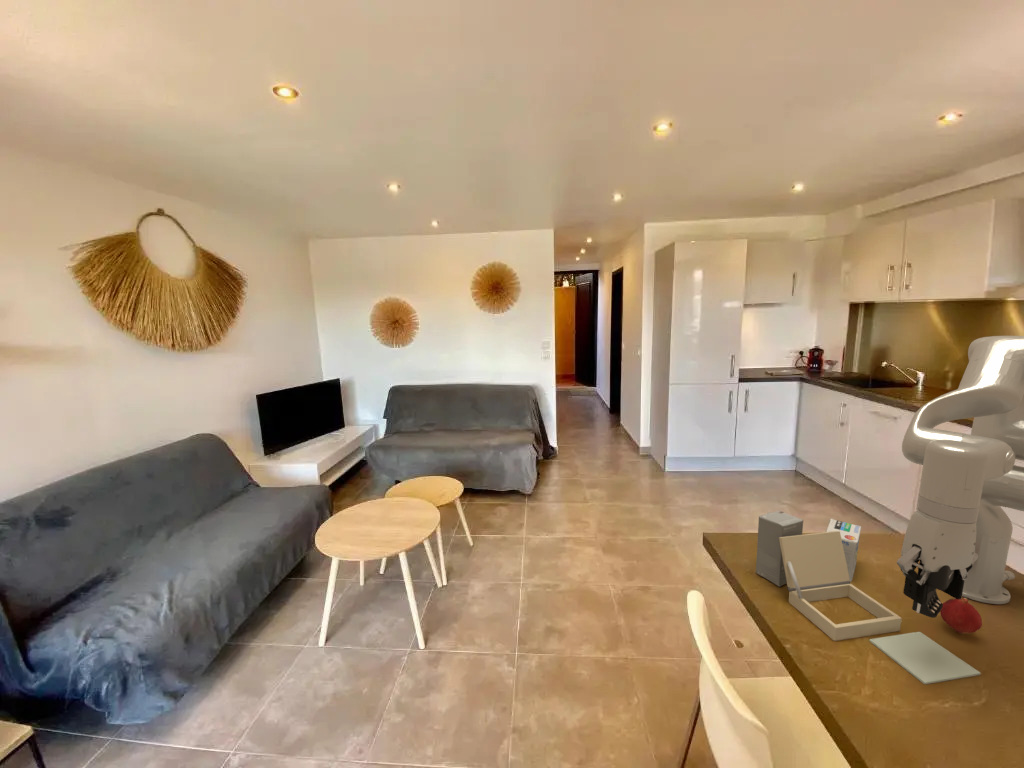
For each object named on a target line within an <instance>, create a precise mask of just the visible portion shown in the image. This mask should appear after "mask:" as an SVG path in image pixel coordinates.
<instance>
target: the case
mask: <svg viewBox="0 0 1024 768" xmlns="http://www.w3.org/2000/svg"><path fill="white" fill-rule="evenodd" d="M779 541H780V547H781V552H782V558H783V563H784V569H785V574H786V580H787V583H786V585H787V590H788V591H789V595H788V603H789V604H791V605H792V606H793V607H794V608H795V609H796V610H798V611H799V613H801V614H802V615H803V616H804V617H806V618H807V619H808V620H809V621H811V623H813V624H814V625H815V626H816V627H817V628H819V629H820V630H821V631H822V632H823V633H825V634H826V635H827V636H828V637H829V638H830V639H831V640H832V641H834V642H835V641H842V640H849V639H856V638H861V637H862V638H863V637H868V636H875V635H881V634H888V633H895V632H901V626H902V625H901V624H902V619H903V618H902V617H901V616H899V615H898V614H896V613H895V612H894V611H892V610H891V609H889V608H888V607H886V606H885V605H883V604H882V603H880V602H879V601H877V600H876V599H874V598H873V597H872V596H870V595H868V594H867V593H865V592H863V590H861V589H859V588H858V587H856V586H855V585H853V584H852V583H851V581H850V578H849V574H848V569H847V564H846V559H845V554H844V549H843V544H842V539H841V535H840V531H832V532H826V531H824V532H823V531H822V532H815V533H805V534H802V535H795V536H786V537H779ZM839 598H840V599H841V598H849V599H851V600H852V601H853V602H855V603H856V604H857V605H859V607H860V606H861V607H862V608H863V609H865V611H867V612H869V613H870V614H872V615H873V616H874V617H875V618H871V619H864V620H857V621H851V622H842V623H838V624H837V623H834V622H833V621H832V620H831V619H830V618H828V617H827V616H826V615H824V614H823V613H822V612H821V611H819V609H817V608H816V607H815V606H814V605H812V604H811V602H819V601H824V600H831V599H833V600H834V599H839Z"/></svg>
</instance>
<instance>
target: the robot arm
mask: <svg viewBox="0 0 1024 768" xmlns="http://www.w3.org/2000/svg"><path fill="white" fill-rule="evenodd" d="M967 356H968V357H967V358H968V364H967V366H966V368H965V370H964V373H963V375H962V378H961V380H960V382H959V385H958V388H957V389H954V390H951V391H948V392H947V393H944V394H941V395H939V396H937V397H935V398H933V399H932V400H930V401H928V402H927V403H924V404H923V405H922V406H921V407H920V408H919V409H918V410H916V412H915V413H914V414H913V416H912V418H911V421H910V423H909V425H908V427H907V429H906V431H905V433H904V436H903V439H902V442H901V452H902V454H903V456H904V458H905V459H907V460H908V461H909V462H911V463H914V464H916V465H920V466H922V471H921V477H920V482H919V483H920V484H919V490H918V496H917V502H916V509H915V511H913V513H912V514H911V516H910V519H909V521H908V524H907V527H906V530H905V533H904V538H903V542H902V547H901V551H900V552H901V553H900V557H899V558H898V559H897V560H896V564H897V565H898V567H899V569H900V571H901V572H902V573H903V576H904V577H905V579H904V584H903V585H904V586H903V591H902V593H903V595H904V596H906V597H907V598H909V599H911V600H912V601H913V600H914V601H916V602H917V603H919V604H924V603H925V598H926V592H927V586H928V585H926V584H924V583H925V582H926V580H927V578H928V577H929V575H930V574H931V572H938V571H939V569H940V568H941V567H943V566H945V565H948V566H949V567H950V569H951V570H954V577H953V580H952V582H950V584H949V586H948V587H947V589H945V590H944V591H942V592H944V593H945V594H947V595H948V596H950V597H952V598H953V599H961V598H967V599H969V600H973V601H976V602H980V603H984V604H991V605H1004V604H1008V603H1009V602H1010V601H1011V593H1010V592H1009V590H1008V589H1007V588H1005V587H1004V586H1003V582H1005V581H1009V580H1014V579H1015V578H1016V575H1015V573H1013V571H1010V570H1006V564H1007V559H1008V556H1009V555H1008V554H1009V549H1010V544H1011V539H1012V534H1013V524H1012V520H1011V519H1010V518H1009V516H1008V514H1007V513H1006V512H1005V511H1004V509H1003V508H1008V509H1012V510H1016V511H1020V512H1024V466H1021V465H1016V464H1015V462H1016V460H1018V461H1024V335H992V336H983V337H979V338H976V339H974V340H973V341H972V342H971V343H970V345H969V347H968V349H967ZM971 418H973V421H972V427H971V429H970V430H971V431H970V434H969V433H963V432H958V431H957V432H956V431H951V430H947V429H939V428H935V427H937V426H939V425H941V424H944V423H948V422H952V421H956V420H964V419H971ZM1002 507H1003V508H1002ZM920 560H921V561H922V564H924V566H922V565H920V564H919V562H920ZM917 568H920V569H922V572H921V574H920V575H918V572H917V571H916V570H917Z"/></svg>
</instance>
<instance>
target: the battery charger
mask: <svg viewBox="0 0 1024 768" xmlns="http://www.w3.org/2000/svg"><path fill="white" fill-rule="evenodd" d="M918 564H920V565H922V566H924V564H922V561H921V560H920V561H919V562H918ZM917 568H918V567H917ZM921 572H922V569H920V568H918V570H917V574H918V575H920V574H921ZM953 577H954V570H951V569H950V567H949V566H948V565H945V566H943V567H941V568H940V569H939V571H938V572H931V574H930V575H929V577H928V578H927V580H926V582H925V583H924V584H926V585H928V586H927V592H926V598H925V603H924V604H919V603H917V602H916V601H914V600H912V601H913V602H912V607H911V610H913V611H914V612H915V613H917V614H921V615H923V616H926V617H929V618H934V619H935V618H937V616H938V615H939V613H940V611H941V609H942V607H943V603H942V601H941V600H940V598H939V596H938V593H937V590H938V591H941V592H943V591H944V590H945V589H947V587H948V586H949V584H950V582H952V580H953Z"/></svg>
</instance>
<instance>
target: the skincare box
mask: <svg viewBox="0 0 1024 768" xmlns="http://www.w3.org/2000/svg"><path fill="white" fill-rule="evenodd" d="M757 524H758V527H757V543H756V544H757V545H756V548H757V549H756V563H755V565H756V567H755V574H757V575H759V576H761V577H762V578H764V579H766V580H768V581H769V582H771V583H772V584H774V585H776V586H777V587H782V586H783V585H787V580H786V574H785V569H784V563H783V558H782V552H781V547H780V541H779V537H786V536H795V535H803V532H804V531H803V529H804V519H801V518H799V517H797V516H794V515H791V514H789V513H788V512H784V511H781V510H777V511H773V512H771V511H770V512H767V513H766V514H762V515H759V516H758V523H757Z"/></svg>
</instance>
